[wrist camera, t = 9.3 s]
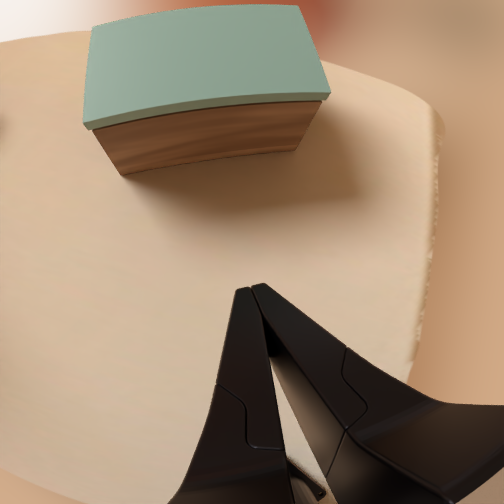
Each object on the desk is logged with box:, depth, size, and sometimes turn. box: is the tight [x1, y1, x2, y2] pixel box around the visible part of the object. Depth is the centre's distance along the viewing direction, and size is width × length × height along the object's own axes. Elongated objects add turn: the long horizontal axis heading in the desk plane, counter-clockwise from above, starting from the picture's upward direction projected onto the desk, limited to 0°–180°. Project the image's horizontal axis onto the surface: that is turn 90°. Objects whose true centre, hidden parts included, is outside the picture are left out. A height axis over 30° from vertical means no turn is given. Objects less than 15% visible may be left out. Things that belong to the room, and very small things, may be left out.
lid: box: [83, 4, 331, 130], centre depth 17 cm, size 8×14×1 cm, turn 101°
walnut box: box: [92, 100, 322, 175], centre depth 21 cm, size 8×14×7 cm, turn 101°
